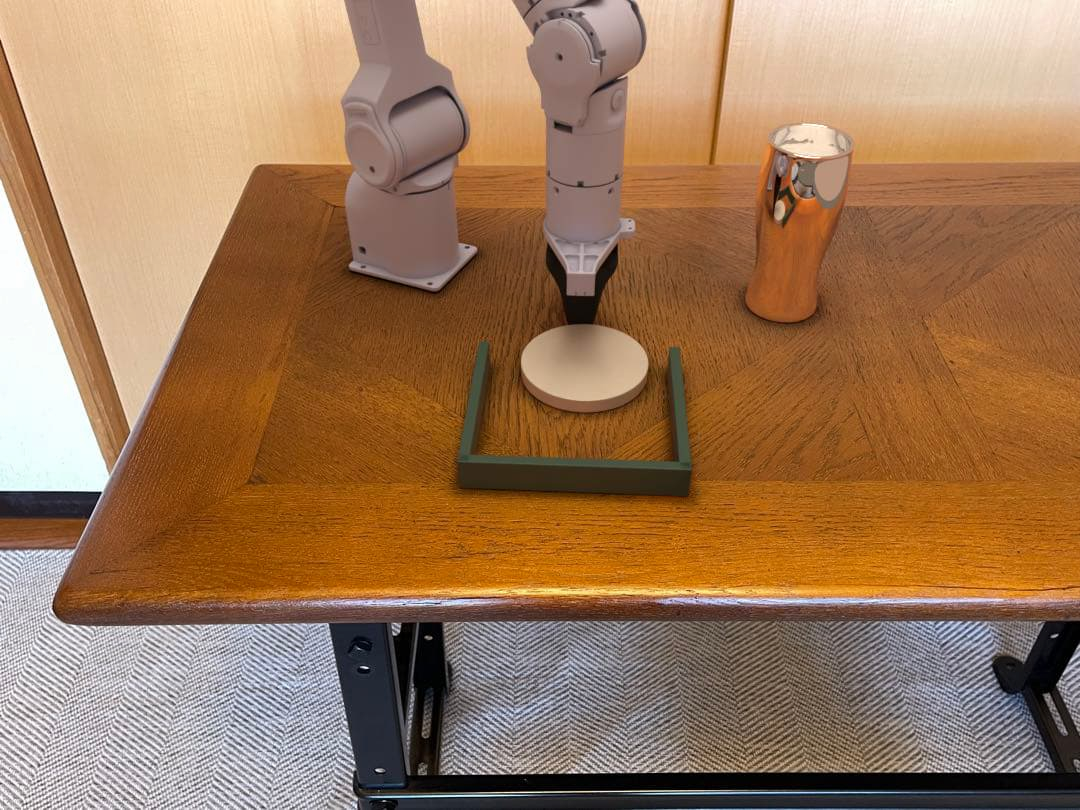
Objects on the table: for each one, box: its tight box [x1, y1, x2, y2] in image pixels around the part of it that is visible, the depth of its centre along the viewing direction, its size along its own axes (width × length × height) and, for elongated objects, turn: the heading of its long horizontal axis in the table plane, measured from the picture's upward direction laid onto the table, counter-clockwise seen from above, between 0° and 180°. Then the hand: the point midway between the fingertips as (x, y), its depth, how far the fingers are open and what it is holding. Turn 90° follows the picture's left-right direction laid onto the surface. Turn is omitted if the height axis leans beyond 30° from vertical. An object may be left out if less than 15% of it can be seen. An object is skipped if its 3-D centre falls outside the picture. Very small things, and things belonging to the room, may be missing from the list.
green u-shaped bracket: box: [456, 341, 693, 497], centre depth 67 cm, size 14×16×2 cm
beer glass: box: [744, 122, 856, 324], centre depth 76 cm, size 7×7×15 cm
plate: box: [520, 324, 649, 413], centre depth 73 cm, size 10×10×1 cm
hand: (580, 322), depth 77 cm, fingers closed
